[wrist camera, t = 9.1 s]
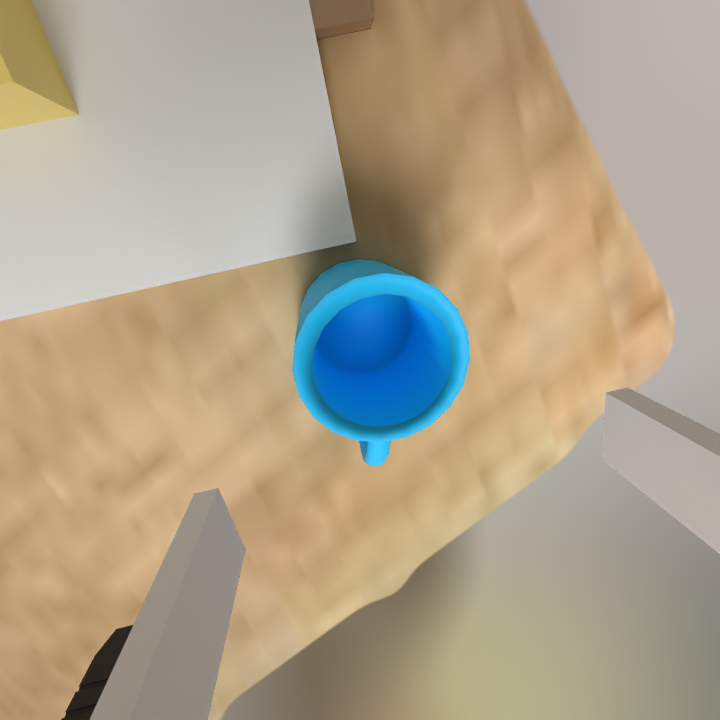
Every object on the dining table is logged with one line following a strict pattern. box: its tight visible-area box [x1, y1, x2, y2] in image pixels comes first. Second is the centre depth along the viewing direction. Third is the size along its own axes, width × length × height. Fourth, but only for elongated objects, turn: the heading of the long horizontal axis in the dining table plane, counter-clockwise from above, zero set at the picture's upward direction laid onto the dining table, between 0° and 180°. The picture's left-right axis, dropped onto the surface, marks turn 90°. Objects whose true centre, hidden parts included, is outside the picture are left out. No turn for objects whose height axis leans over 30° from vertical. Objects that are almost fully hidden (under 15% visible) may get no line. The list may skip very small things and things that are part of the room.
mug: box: [293, 259, 470, 466], centre depth 20 cm, size 12×8×8 cm
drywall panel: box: [0, 0, 374, 321], centre depth 17 cm, size 30×17×1 cm, turn 102°
